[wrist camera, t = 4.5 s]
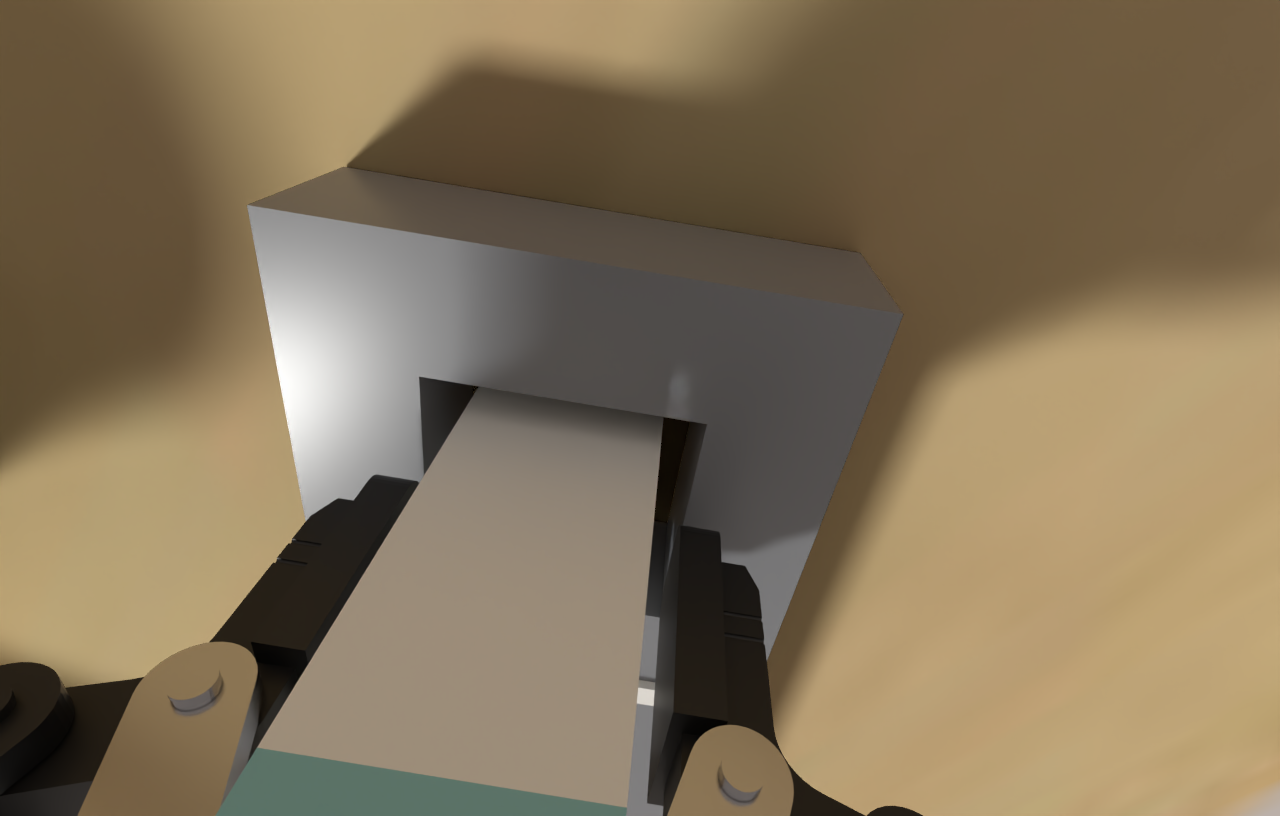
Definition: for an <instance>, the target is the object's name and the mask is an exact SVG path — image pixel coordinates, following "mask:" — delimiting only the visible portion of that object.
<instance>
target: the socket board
mask: <svg viewBox="0 0 1280 816" xmlns="http://www.w3.org/2000/svg"><path fill="white" fill-rule="evenodd" d="M247 207H248V213H249V218H250V223H251V229H252V234H253V240H254V245H255V250H256V256H257V261H258V267H259V272H260V277H261V283H262V288H263V293H264V299H265V304H266V310H267V315H268V320H269V326H270V331H271V337H272V342H273V347H274V353H275V358H276V364H277V369H278V374H279V380H280V385H281V391H282V396H283V401H284V407H285V412H286V417H287V423H288V428H289V434H290V439H291V444H292V450H293V455H294V461H295V466H296V471H297V477H298V482H299V488H300V493H301V498H302V504H303V509H304V515H305V520H306V521H307V520H308V518H309V517H310V516H311V515H313V514H314V513H316V512H317V511H319V510H320V509H322V508H323V507H325V506H326V505H328V504H330V503H331V502H333V501H334V500H336V499H337V498H341V499H347V500H353V501H354V499H355V498H356V497H357V495H358V494H359V492H360V491H361V490H362V488H363V487H364V486H365V484H366V483H367V481H368V480H369V479H370V478H371V477H372V476H373V475H376V474H378V475H384V476H390V477H396V478H402V479H408V480H414V481H418V482H419V483H420V481H421V480H422V478H423V476H424V475H425V473H426V472H427V470H428V468H429V467H430V465H431V463H432V462H433V460H434V459H435V457H436V455H437V454H438V452H439V450H440V449H441V447H442V446H443V444H444V442H445V441H446V439H447V437H448V436H449V434H450V432H451V431H452V429H453V428H454V426H455V424H456V423H457V421H458V419H459V418H460V416H461V415H462V413H463V411H464V410H465V408H466V406H467V405H468V403H469V402H470V400H471V398H472V397H473V386H479V387H485V388H491V389H497V390H503V391H509V392H515V393H521V394H528V395H534V396H540V397H546V398H552V399H558V400H564V401H570V402H576V403H582V404H588V405H594V406H600V407H606V408H612V409H618V410H624V411H630V412H636V413H642V414H648V415H654V416H660V417H666V418H673V419H679V420H685V421H690V422H689V427H688V431H687V436H686V440H685V445H684V449H683V454H682V458H681V463H680V467H679V472H678V476H677V481H676V485H675V490H674V495H673V499H672V504H671V508H670V513H669V517H668V522H667V523H664V522H658V521H654V525H653V535H652V546H651V557H650V567H649V578H648V588H647V599H646V610H645V620H644V631H643V642H642V652H641V663H640V674H639V684H638V695H637V706H636V716H635V727H634V738H633V748H632V759H631V769H630V780H629V791H628V801H627V812H626V816H663V806H660V805H654V804H648V803H647V794H648V780H649V765H650V751H651V736H652V722H653V707H654V693H655V678H656V664H657V649H658V635H659V620H660V610H661V602H662V595H663V589H664V584H665V580H666V576H667V571H668V567H669V563H670V558H671V554H672V550H673V546H674V541H675V537H676V533H677V529H678V526H679V525H683V526H689V527H695V528H701V529H707V530H713V531H719V532H720V537H721V560H722V562H725V563H731V564H737V565H743V566H746V568H747V570H748V572H749V573H750V575H751V577H752V579H753V580H754V582H755V584H756V586H757V587H758V589H759V592H760V602H761V612H762V620H761V621H762V622H763V631H764V644H765V650H766V660H767V659H768V657H769V654H770V652H771V649H772V647H773V644H774V642H775V639H776V637H777V634H778V632H779V629H780V626H781V624H782V621H783V619H784V616H785V614H786V611H787V609H788V606H789V604H790V601H791V599H792V596H793V593H794V591H795V588H796V586H797V583H798V581H799V578H800V576H801V573H802V571H803V568H804V566H805V563H806V560H807V558H808V555H809V553H810V550H811V548H812V545H813V543H814V540H815V538H816V535H817V533H818V530H819V527H820V525H821V522H822V520H823V517H824V515H825V512H826V510H827V507H828V505H829V502H830V500H831V497H832V495H833V492H834V489H835V487H836V484H837V482H838V479H839V477H840V474H841V472H842V469H843V467H844V464H845V462H846V459H847V456H848V454H849V451H850V449H851V446H852V444H853V441H854V439H855V436H856V434H857V431H858V429H859V426H860V423H861V421H862V418H863V416H864V413H865V411H866V408H867V406H868V403H869V401H870V398H871V396H872V393H873V390H874V388H875V385H876V383H877V380H878V378H879V375H880V373H881V370H882V368H883V365H884V363H885V360H886V358H887V355H888V352H889V350H890V347H891V345H892V342H893V340H894V337H895V335H896V332H897V330H898V327H899V325H900V322H901V319H902V317H903V313H902V311H901V310H900V309H899V307H898V306H897V304H896V303H895V302H894V300H893V299H892V297H891V296H890V294H889V293H888V292H887V290H886V289H885V287H884V286H883V284H882V283H881V282H880V280H879V279H878V277H877V276H876V275H875V273H874V272H873V270H872V269H871V267H870V266H869V265H868V263H867V262H866V260H865V259H864V257H863V256H862V255H861V253H857V252H851V251H845V250H839V249H833V248H828V247H822V246H816V245H810V244H804V243H798V242H792V241H786V240H780V239H774V238H768V237H762V236H756V235H750V234H744V233H738V232H732V231H726V230H720V229H714V228H708V227H702V226H696V225H690V224H684V223H678V222H672V221H666V220H660V219H654V218H648V217H642V216H636V215H630V214H624V213H618V212H612V211H606V210H600V209H594V208H588V207H582V206H576V205H570V204H564V203H558V202H552V201H546V200H540V199H534V198H528V197H522V196H516V195H510V194H504V193H498V192H492V191H486V190H480V189H474V188H468V187H462V186H456V185H450V184H444V183H438V182H432V181H426V180H420V179H414V178H408V177H402V176H396V175H390V174H384V173H378V172H372V171H366V170H360V169H354V168H348V167H342V168H339V169H337V170H334V171H332V172H329V173H327V174H324V175H322V176H319V177H317V178H314V179H312V180H309V181H307V182H304V183H301V184H299V185H296V186H294V187H291V188H289V189H286V190H284V191H281V192H279V193H276V194H274V195H271V196H269V197H266V198H264V199H261V200H258V201H256V202H253V203H251V204H248V205H247Z"/></svg>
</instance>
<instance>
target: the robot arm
mask: <svg viewBox="0 0 1280 816" xmlns="http://www.w3.org/2000/svg"><path fill="white" fill-rule="evenodd" d="M418 485H419V482H418V481H414V480H408V479H402V478H396V477H390V476H384V475H378V474H376V475H373V476H372V477H371V478H370V479H369V480H368V481H367V483H366V484H365V486H364V487H363V488H362V490H361V491H360V492H359V494H358V495H357V497H356V498H355V499H354V501H353V500H347V499H341V498H337V499H336V500H334V501H333V502H331V503H330V504H328V505H326V506H325V507H323V508H322V509H320V510H319V511H317V512H316V513H314V514H313V515H311V516H310V517H309V518H308V520H307V521H306V522H305V523H304V525H303V526H302V527H301V528H300V530H299V531H298V532H297V533H296V535H295V536H294V537H293V538H292V543H291V544H288V545H287V546H286V547H285V549H284V550H283V551H282V552H281V554H280V555H279V556H278V557H277V561H276V563H273V564H272V565H271V566H270V567H269V569H268V570H267V571H266V572H265V574H264V575H263V576H262V577H261V579H260V580H259V581H258V582H257V584H256V585H255V586H254V588H253V589H252V590H251V591H250V593H249V594H248V595H247V596H246V598H245V599H244V600H243V601H242V603H241V604H240V605H239V606H238V608H237V609H236V610H235V611H234V613H233V614H232V615H231V616H230V618H229V619H228V620H227V621H226V623H225V624H224V625H223V626H222V628H221V629H220V630H219V632H218V633H217V634H216V635H215V636H214V637H213V639H212V640H211V641H210V642H209V643H203V644H199V645H196V646H192V647H189V648H187V649H184V650H182V651H179V652H177V653H175V654H174V655H172V656H170V657H168V658H167V659H165V660H164V661H162V662H160V663H159V664H158V665H157V666H155V667H154V668H153V669H152V670H151V671H150V672H149V673H148V674H147V675H146V676H145V677H142V678H137V679H131V680H124V681H116V682H108V683H100V684H92V685H84V686H76V687H68V688H65V687H64V685H63V683H62V681H61V680H60V678H59V676H58V675H57V673H56V672H55V671H54V670H53V669H51V668H50V667H48V666H45V665H43V664H38V663H32V662H20V663H11V664H6V665H1V666H0V816H215V815H216V814H217V812H218V810H219V809H220V807H221V806H222V804H223V802H224V801H225V799H226V797H227V796H228V794H229V793H230V791H231V789H232V788H233V786H234V784H235V783H236V781H237V779H238V778H239V776H240V775H241V773H242V771H243V770H244V768H245V766H246V765H247V763H248V762H249V760H250V758H251V757H252V755H253V753H254V752H255V750H256V749H257V747H258V745H259V744H260V742H261V740H262V739H263V737H264V736H265V734H266V732H267V731H268V729H269V727H270V726H271V724H272V722H273V721H274V719H275V718H276V716H277V714H278V713H279V711H280V709H281V708H282V706H283V705H284V703H285V701H286V700H287V698H288V696H289V695H290V693H291V692H292V690H293V688H294V687H295V685H296V683H297V682H298V680H299V678H300V677H301V675H302V674H303V672H304V670H305V669H306V667H307V665H308V664H309V662H310V661H311V659H312V657H313V656H314V654H315V652H316V651H317V649H318V648H319V646H320V644H321V643H322V641H323V639H324V638H325V636H326V634H327V633H328V631H329V630H330V628H331V626H332V625H333V623H334V621H335V620H336V618H337V617H338V615H339V613H340V612H341V610H342V608H343V607H344V605H345V604H346V602H347V600H348V599H349V597H350V595H351V594H352V592H353V591H354V589H355V587H356V586H357V584H358V582H359V581H360V579H361V577H362V576H363V574H364V573H365V571H366V569H367V568H368V566H369V564H370V563H371V561H372V560H373V558H374V556H375V555H376V553H377V551H378V550H379V548H380V547H381V545H382V543H383V542H384V540H385V538H386V537H387V535H388V533H389V532H390V530H391V529H392V527H393V525H394V524H395V522H396V520H397V519H398V517H399V516H400V514H401V512H402V511H403V509H404V507H405V506H406V504H407V503H408V501H409V499H410V498H411V496H412V494H413V493H414V491H415V490H416V488H417V486H418ZM761 620H762V612H761V602H760V592H759V589H758V587H757V586H756V584H755V582H754V580H753V579H752V577H751V575H750V573H749V572H748V570H747V568H746V566H743V565H737V564H731V563H725V562H722V560H721V537H720V532H719V531H713V530H707V529H701V528H695V527H689V526H683V525H679V526H678V529H677V533H676V537H675V541H674V546H673V550H672V554H671V558H670V563H669V567H668V571H667V576H666V580H665V584H664V589H663V595H662V602H661V610H660V620H659V635H658V649H657V664H656V678H655V693H654V707H653V722H652V736H651V751H650V765H649V780H648V794H647V803H648V804H654V805H660V806H663V816H865V815H863V814H861V813H859V812H857V811H855V810H853V809H851V808H849V807H847V806H845V805H843V804H842V803H840V802H838V801H836V800H834V799H832V798H830V797H828V796H826V795H824V794H822V793H821V792H819V791H817V790H816V789H814V788H812V787H811V786H810V785H809V784H807V783H806V782H805V781H804V780H802V779H801V778H800V777H799V776H798V775H797V774H796V773H795V771H794V770H793V769H792V768H791V767H790V765H789V764H788V762H787V761H786V759H785V758H784V756H783V754H782V752H781V750H780V748H779V746H778V743H777V740H776V737H775V732H774V727H773V717H772V708H771V698H770V688H769V679H768V669H767V660H766V650H765V644H764V631H763V622H762V621H761ZM867 816H923V815H921V814H919V813H917V812H915V811H913V810H910V809H907V808H904V807H898V806H884V807H880V808H877V809H875V810H873V811H871V812H870V813H869V814H868V815H867Z"/></svg>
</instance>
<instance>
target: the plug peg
mask: <svg viewBox="0 0 1280 816" xmlns="http://www.w3.org/2000/svg"><path fill="white" fill-rule="evenodd" d="M663 418H664V417H660V416H654V415H648V414H642V413H636V412H630V411H624V410H618V409H612V408H606V407H600V406H594V405H588V404H582V403H576V402H570V401H564V400H558V399H552V398H546V397H540V396H534V395H528V394H521V393H515V392H509V391H503V390H497V389H491V388H485V387H478V389H477V390H476V392H475V393H474V395H473V397H472V398H471V400H470V402H469V403H468V405H467V406H466V408H465V410H464V411H463V413H462V415H461V416H460V418H459V419H458V421H457V423H456V424H455V426H454V428H453V429H452V431H451V432H450V434H449V436H448V437H447V439H446V441H445V442H444V444H443V446H442V447H441V449H440V450H439V452H438V454H437V455H436V457H435V459H434V460H433V462H432V463H431V465H430V467H429V468H428V470H427V472H426V473H425V475H424V476H423V478H422V480H421V481H420V483H419V485H418V486H417V488H416V490H415V491H414V493H413V494H412V496H411V498H410V499H409V501H408V503H407V504H406V506H405V507H404V509H403V511H402V512H401V514H400V516H399V517H398V519H397V520H396V522H395V524H394V525H393V527H392V529H391V530H390V532H389V533H388V535H387V537H386V538H385V540H384V542H383V543H382V545H381V547H380V548H379V550H378V551H377V553H376V555H375V556H374V558H373V560H372V561H371V563H370V564H369V566H368V568H367V569H366V571H365V573H364V574H363V576H362V577H361V579H360V581H359V582H358V584H357V586H356V587H355V589H354V591H353V592H352V594H351V595H350V597H349V599H348V600H347V602H346V604H345V605H344V607H343V608H342V610H341V612H340V613H339V615H338V617H337V618H336V620H335V621H334V623H333V625H332V626H331V628H330V630H329V631H328V633H327V634H326V636H325V638H324V639H323V641H322V643H321V644H320V646H319V648H318V649H317V651H316V652H315V654H314V656H313V657H312V659H311V661H310V662H309V664H308V665H307V667H306V669H305V670H304V672H303V674H302V675H301V677H300V678H299V680H298V682H297V683H296V685H295V687H294V688H293V690H292V692H291V693H290V695H289V696H288V698H287V700H286V701H285V703H284V705H283V706H282V708H281V709H280V711H279V713H278V714H277V716H276V718H275V719H274V721H273V722H272V724H271V726H270V727H269V729H268V731H267V732H266V734H265V736H264V737H263V739H262V740H261V742H260V744H259V745H258V747H257V749H256V750H255V752H254V753H253V755H252V757H251V758H250V760H249V762H248V763H247V765H246V766H245V768H244V770H243V771H242V773H241V775H240V776H239V778H238V779H237V781H236V783H235V784H234V786H233V788H232V789H231V791H230V793H229V794H228V796H227V797H226V799H225V801H224V802H223V804H222V806H221V807H220V809H219V810H218V812H217V814H216V815H215V816H626V812H627V801H628V791H629V780H630V769H631V759H632V748H633V738H634V727H635V716H636V706H637V695H638V684H639V674H640V663H641V652H642V642H643V631H644V620H645V610H646V599H647V588H648V578H649V567H650V557H651V546H652V535H653V525H654V514H655V503H656V493H657V482H658V471H659V461H660V450H661V439H662V429H663Z"/></svg>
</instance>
